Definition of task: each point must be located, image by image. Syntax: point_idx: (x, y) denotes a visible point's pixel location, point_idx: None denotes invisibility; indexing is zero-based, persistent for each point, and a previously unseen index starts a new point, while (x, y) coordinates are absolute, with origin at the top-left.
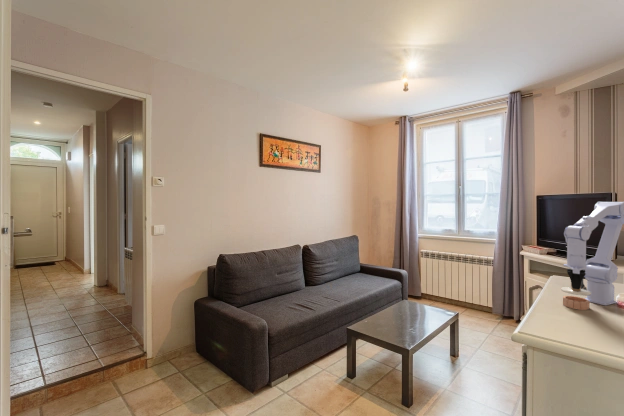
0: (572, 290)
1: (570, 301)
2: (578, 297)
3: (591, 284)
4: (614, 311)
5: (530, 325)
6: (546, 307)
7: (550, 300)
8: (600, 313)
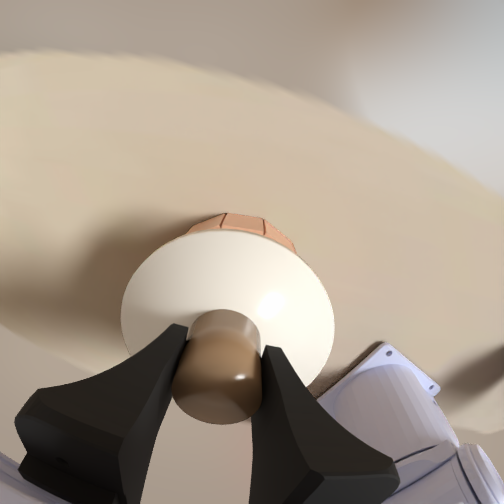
0: (201, 314)
1: None
2: None
3: (388, 445)
4: None
5: None
6: (118, 104)
7: (307, 155)
8: None
